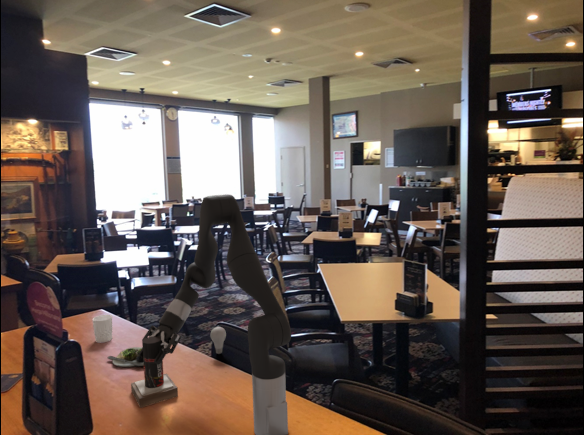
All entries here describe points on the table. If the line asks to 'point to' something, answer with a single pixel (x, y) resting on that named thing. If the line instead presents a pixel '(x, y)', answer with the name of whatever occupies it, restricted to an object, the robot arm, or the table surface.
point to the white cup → (102, 328)
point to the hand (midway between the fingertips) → (148, 359)
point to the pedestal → (154, 392)
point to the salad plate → (128, 358)
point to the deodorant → (152, 362)
